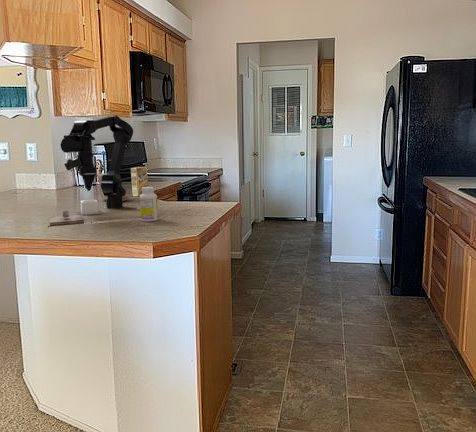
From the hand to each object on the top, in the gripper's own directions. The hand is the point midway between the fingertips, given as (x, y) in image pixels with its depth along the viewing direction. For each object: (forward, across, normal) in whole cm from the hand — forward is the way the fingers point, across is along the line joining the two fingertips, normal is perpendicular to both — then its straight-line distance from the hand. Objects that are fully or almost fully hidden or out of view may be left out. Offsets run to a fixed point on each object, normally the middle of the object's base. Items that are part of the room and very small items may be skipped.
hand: (87, 189), depth 199 cm
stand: (+11, 0, 0) cm, 11 cm away
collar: (+10, 0, 0) cm, 10 cm away
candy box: (+11, -56, +32) cm, 65 cm away
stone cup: (+11, -40, +15) cm, 44 cm away
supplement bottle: (+11, +24, +20) cm, 33 cm away
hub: (+11, +13, -10) cm, 20 cm away
